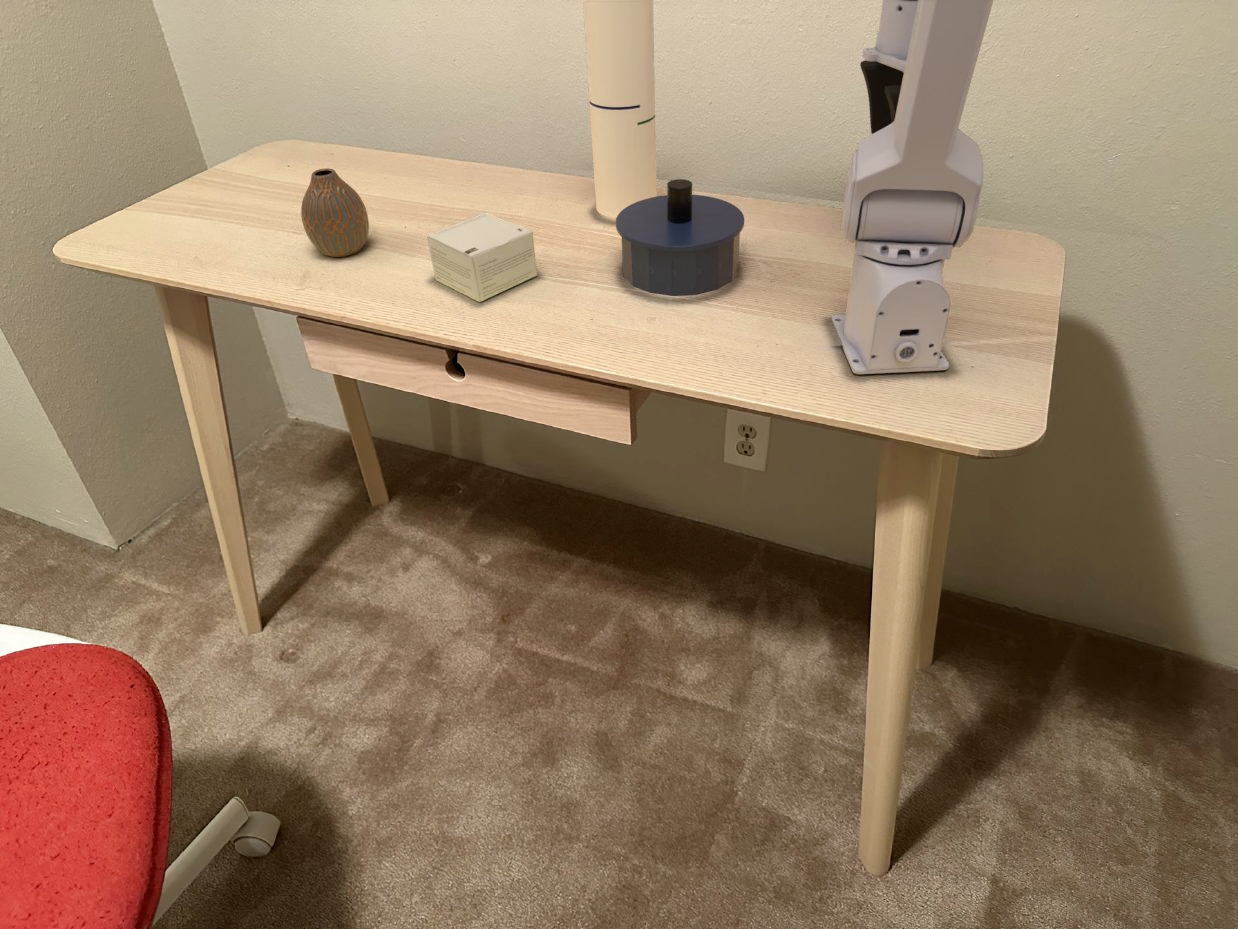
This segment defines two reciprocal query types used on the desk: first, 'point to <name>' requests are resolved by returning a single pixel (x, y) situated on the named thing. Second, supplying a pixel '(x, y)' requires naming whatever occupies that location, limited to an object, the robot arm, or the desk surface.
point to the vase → (334, 215)
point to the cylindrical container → (621, 101)
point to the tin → (680, 268)
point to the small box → (482, 256)
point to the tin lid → (680, 220)
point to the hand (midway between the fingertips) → (893, 151)
